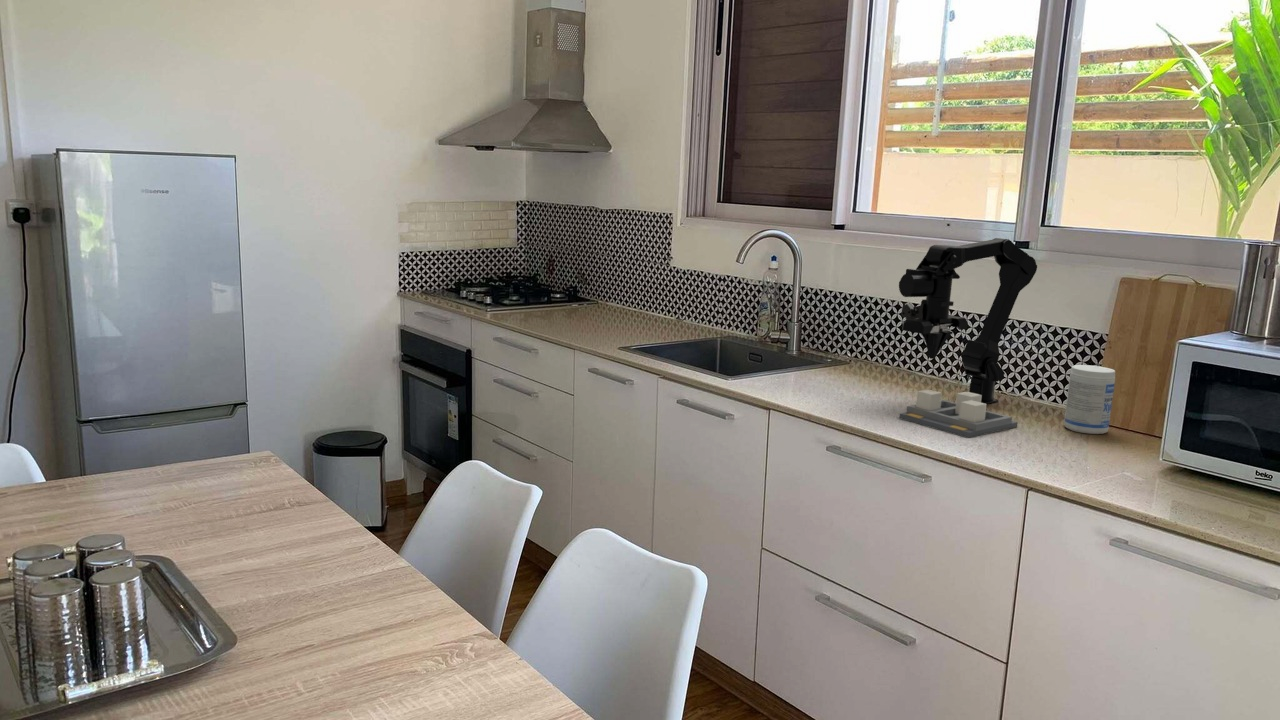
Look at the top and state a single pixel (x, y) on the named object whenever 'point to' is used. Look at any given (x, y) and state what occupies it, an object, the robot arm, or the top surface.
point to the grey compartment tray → (957, 420)
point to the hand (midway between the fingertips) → (931, 358)
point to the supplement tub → (1089, 399)
